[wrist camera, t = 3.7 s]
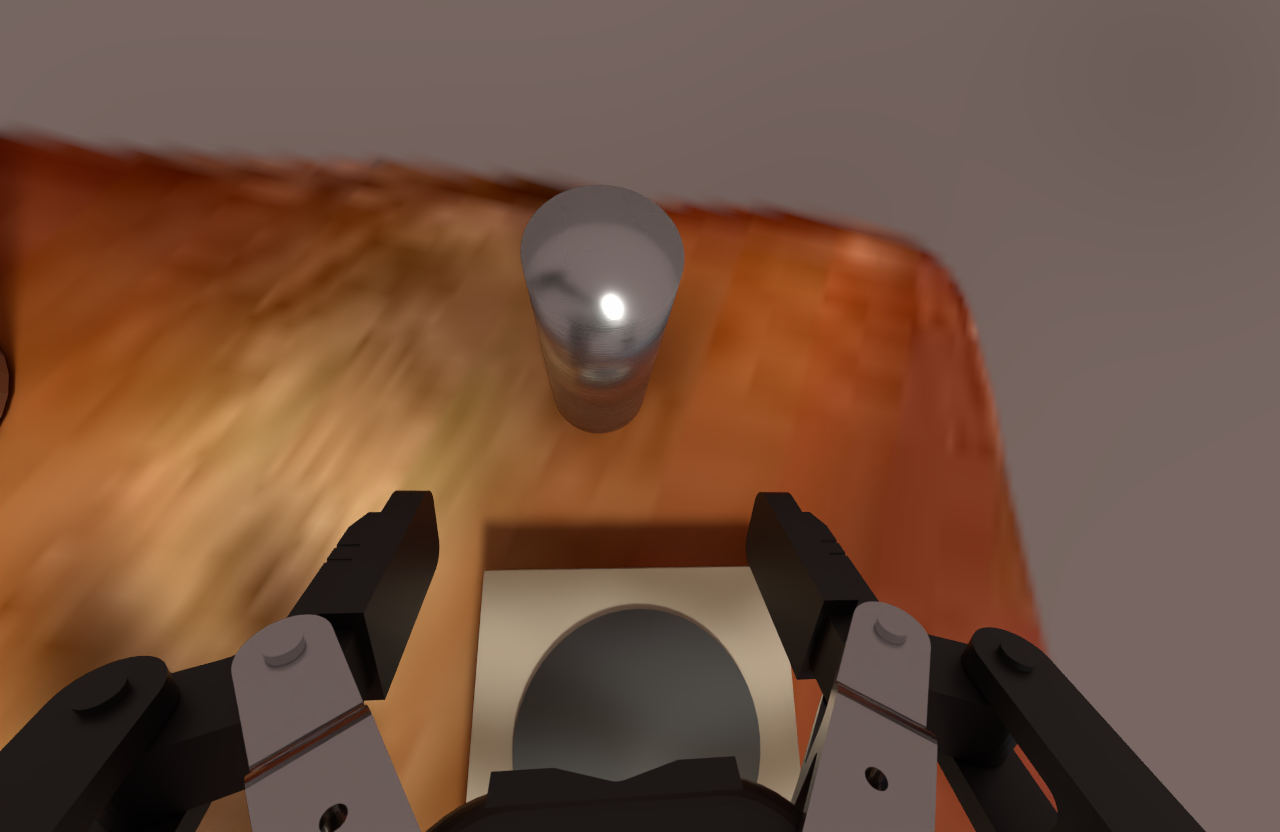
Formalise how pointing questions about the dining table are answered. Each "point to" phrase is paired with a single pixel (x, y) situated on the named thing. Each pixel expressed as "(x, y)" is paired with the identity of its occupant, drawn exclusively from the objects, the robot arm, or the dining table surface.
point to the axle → (601, 298)
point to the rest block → (630, 674)
